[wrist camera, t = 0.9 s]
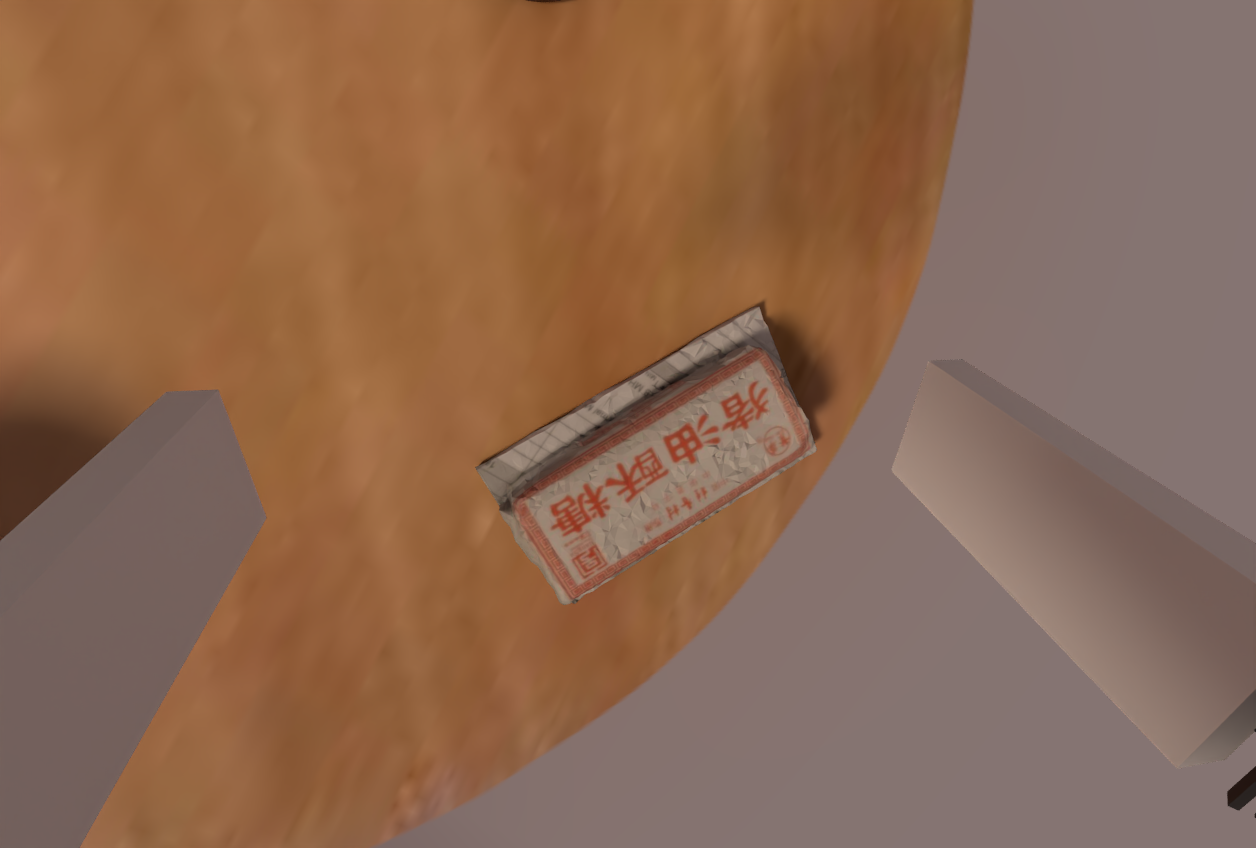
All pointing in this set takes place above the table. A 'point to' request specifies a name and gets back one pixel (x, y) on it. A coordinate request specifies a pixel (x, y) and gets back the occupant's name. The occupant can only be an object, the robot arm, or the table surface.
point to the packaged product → (651, 457)
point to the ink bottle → (543, 0)
